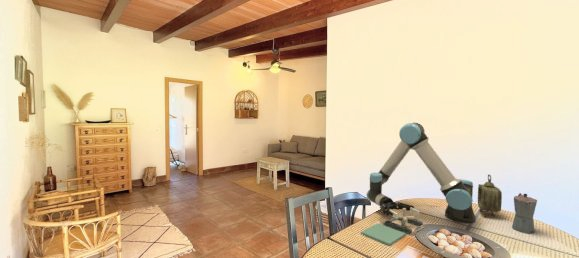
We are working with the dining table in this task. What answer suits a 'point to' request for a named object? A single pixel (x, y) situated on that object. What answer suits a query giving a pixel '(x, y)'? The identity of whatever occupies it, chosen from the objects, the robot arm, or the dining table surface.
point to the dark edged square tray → (402, 228)
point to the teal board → (383, 234)
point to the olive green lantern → (489, 197)
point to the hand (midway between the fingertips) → (408, 215)
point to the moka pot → (524, 213)
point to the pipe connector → (404, 217)
